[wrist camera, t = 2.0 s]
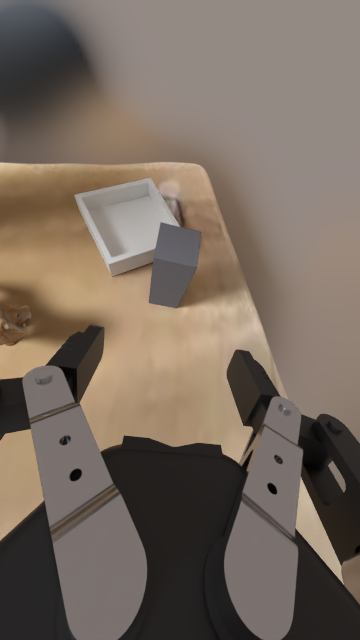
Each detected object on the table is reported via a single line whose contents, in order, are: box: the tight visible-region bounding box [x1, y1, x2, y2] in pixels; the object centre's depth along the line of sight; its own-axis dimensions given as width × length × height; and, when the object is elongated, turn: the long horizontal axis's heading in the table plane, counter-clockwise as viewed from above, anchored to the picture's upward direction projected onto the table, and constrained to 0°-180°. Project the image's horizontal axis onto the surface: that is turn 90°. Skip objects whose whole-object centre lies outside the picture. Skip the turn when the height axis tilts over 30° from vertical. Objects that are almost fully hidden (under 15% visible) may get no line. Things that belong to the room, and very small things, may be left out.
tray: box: [74, 178, 180, 277], centre depth 32 cm, size 13×13×4 cm
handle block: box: [149, 222, 201, 308], centre depth 26 cm, size 4×4×12 cm
